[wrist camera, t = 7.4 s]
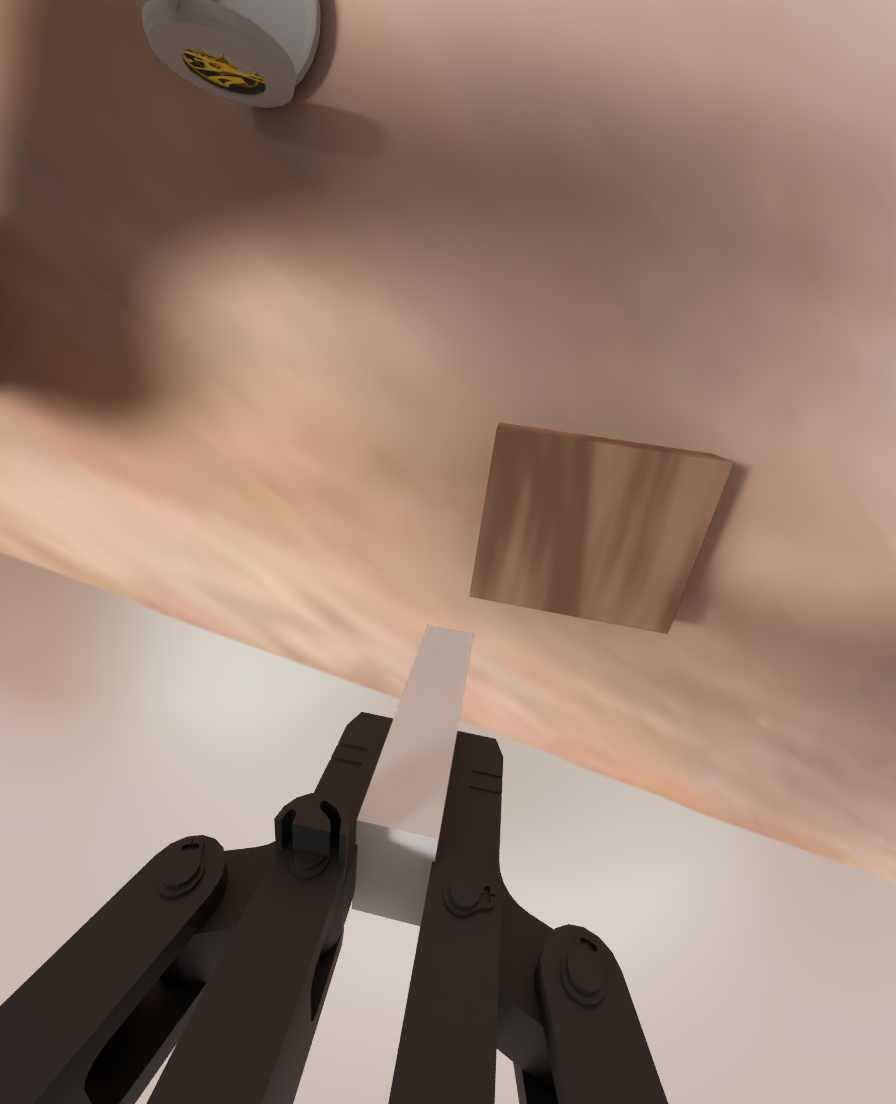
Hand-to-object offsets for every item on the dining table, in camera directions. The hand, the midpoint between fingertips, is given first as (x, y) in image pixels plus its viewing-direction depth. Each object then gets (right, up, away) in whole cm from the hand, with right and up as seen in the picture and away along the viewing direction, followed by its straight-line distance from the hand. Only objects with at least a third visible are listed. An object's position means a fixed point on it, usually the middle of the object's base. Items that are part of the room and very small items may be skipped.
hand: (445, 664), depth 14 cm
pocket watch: (-10, +32, +10) cm, 35 cm away
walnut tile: (+3, +6, +16) cm, 18 cm away
